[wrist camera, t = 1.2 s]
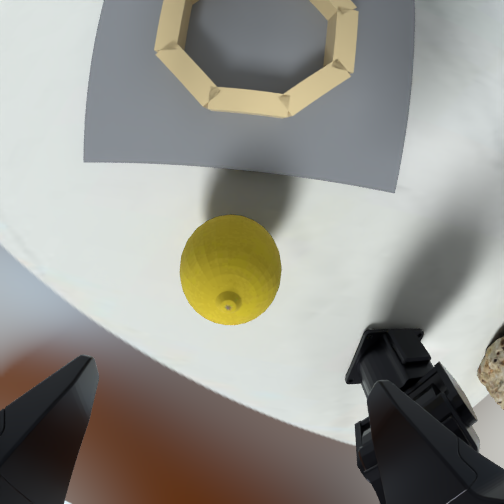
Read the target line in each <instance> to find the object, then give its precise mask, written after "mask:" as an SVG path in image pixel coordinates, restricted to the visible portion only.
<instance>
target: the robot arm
mask: <svg viewBox="0 0 504 504" xmlns="http://www.w3.org/2000/svg"><path fill="white" fill-rule="evenodd" d="M369 335H370V336H369ZM423 335H424V332H423V331H422V329H383V330H367V331H366V332H365V333H364V335H363V337H362V340H361V342H360V345H359V347H358V350H357V352H356V354H355V357H354V359H353V362H352V364H351V366H350V368H349V371H348V373H347V375H346V378H345V381H346V383H347V384H361V385H362V387H363V390H364V392H365V395H366V397H367V406H368V413H369V417H367V418H365V419H364V420H362V421H359V422H358V423H356V424H355V436H356V452H357V466H358V468H359V469H360V471H361V473H362V474H363V475H364V477H365V478H366V479H367V481H369V482H370V483H371V484H372V486H373V488H374V490H375V491H376V494H377V496H378V498H379V501H380V504H504V469H503V468H501V467H500V466H498V465H496V464H495V463H493V462H492V461H490V460H489V459H487V458H485V457H484V456H482V455H481V454H480V453H479V447H480V440H479V437H478V436H477V434H476V432H475V431H474V429H473V427H472V425H473V424H474V423H475V422H476V421H477V418H476V415H475V413H474V411H473V409H472V407H471V405H470V403H469V401H468V399H467V397H466V395H465V394H464V392H463V391H462V389H461V388H460V386H459V385H458V383H457V382H456V380H455V379H454V378H453V377H452V375H451V374H450V373H449V372H448V371H447V370H446V368H445V367H444V366H443V365H442V364H441V363H440V362H438V363H437V364H436V365H434V366H435V367H433V365H432V363H431V362H430V360H431V357H430V355H429V353H428V352H427V350H426V349H425V347H424V346H423V344H422V343H421V339H422V337H423ZM98 381H99V374H98V370H97V366H96V363H95V359H94V358H93V357H91V356H88V355H80V356H79V357H77V358H75V359H74V360H72V361H71V362H69V363H68V364H67V365H65V366H64V367H62V368H61V369H59V370H58V371H56V372H55V373H54V374H52V375H51V376H49V377H48V378H46V379H45V380H44V381H42V382H41V383H39V384H38V385H36V386H35V387H33V388H32V389H31V390H29V391H28V392H26V393H25V394H23V395H22V396H21V397H19V398H18V399H16V400H15V401H13V402H12V403H11V404H10V405H8V406H6V408H5V409H2V410H1V411H0V504H64V501H65V497H66V493H67V490H68V486H69V482H70V479H71V475H72V472H73V469H74V465H75V462H76V459H77V455H78V453H79V449H80V446H81V443H82V440H83V437H84V434H85V431H86V428H87V426H88V422H89V419H90V415H91V410H92V406H93V402H94V397H95V393H96V389H97V385H98Z"/></svg>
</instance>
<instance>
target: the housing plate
mask: <svg viewBox="0 0 504 504" xmlns="http://www.w3.org/2000/svg"><path fill="white" fill-rule="evenodd" d="M414 31H415V4H414V0H104V3H103V6H102V11H101V15H100V19H99V24H98V28H97V33H96V38H95V44H94V49H93V55H92V61H91V68H90V75H89V83H88V92H87V102H86V114H85V130H84V162H113V163H150V164H171V165H187V166H202V167H214V168H226V169H236V170H246V171H256V172H264V173H273V174H281V175H289V176H296V177H303V178H310V179H317V180H323V181H330V182H336V183H342V184H348V185H354V186H359V187H365V188H370V189H375V190H381V191H386V192H391V193H395V189H396V185H397V180H398V175H399V169H400V164H401V159H402V153H403V147H404V141H405V134H406V127H407V120H408V112H409V104H410V95H411V85H412V73H413V57H414Z"/></svg>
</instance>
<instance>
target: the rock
mask: <svg viewBox="0 0 504 504" xmlns="http://www.w3.org/2000/svg"><path fill="white" fill-rule="evenodd" d="M477 376H478V378H479V380H480V382H481V383H482V384H483V385H484V386H486V388H487V390H488V391H489V393H490V395H491V397H493V398H494V399H495V402H497V404H499V405H500V406H501V408H502V409H503V410H504V336H503V337H502V338H499V339H497V340H496V341H495V342H494V343H493V344H492V345H491V346H489V347H488V348H487V351H486V354H485V357H484V358H483V360H482V362H481V364H480V366H479V368H478V374H477Z"/></svg>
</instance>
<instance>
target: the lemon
mask: <svg viewBox="0 0 504 504" xmlns="http://www.w3.org/2000/svg"><path fill="white" fill-rule="evenodd" d="M180 278H181V284H182V289H183V292H184V294H185V296H186V298H187V300H188V302H189V304H190V305H191V306H192V307H193V308H194V310H195V311H196V312H197V313H199V314H200V315H201V316H203V317H204V318H206V319H208V320H210V321H212V322H214V323H218V324H223V325H238V324H242V323H246V322H249V321H251V320H253V319H255V318H257V317H258V316H259V315H261V314H262V313H263V312H265V310H266V309H267V308H268V307H269V305H270V304H271V303H272V302H273V300H274V298H275V295H276V293H277V291H278V288H279V285H280V278H281V261H280V255H279V251H278V248H277V246H276V244H275V242H274V240H273V238H272V236H271V235H270V234H269V233H268V232H267V231H266V229H265V228H264V227H263V226H261V225H260V224H258V223H257V222H255V221H254V220H252V219H249V218H247V217H244V216H240V215H223V216H218V217H215V218H213V219H210V220H208V221H206V222H205V223H204V224H202V225H201V226H200V227H198V228H197V229H196V230H195V231H194V233H193V234H192V235H191V237H190V238H189V239H188V241H187V243H186V245H185V248H184V250H183V252H182V256H181V264H180Z"/></svg>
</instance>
